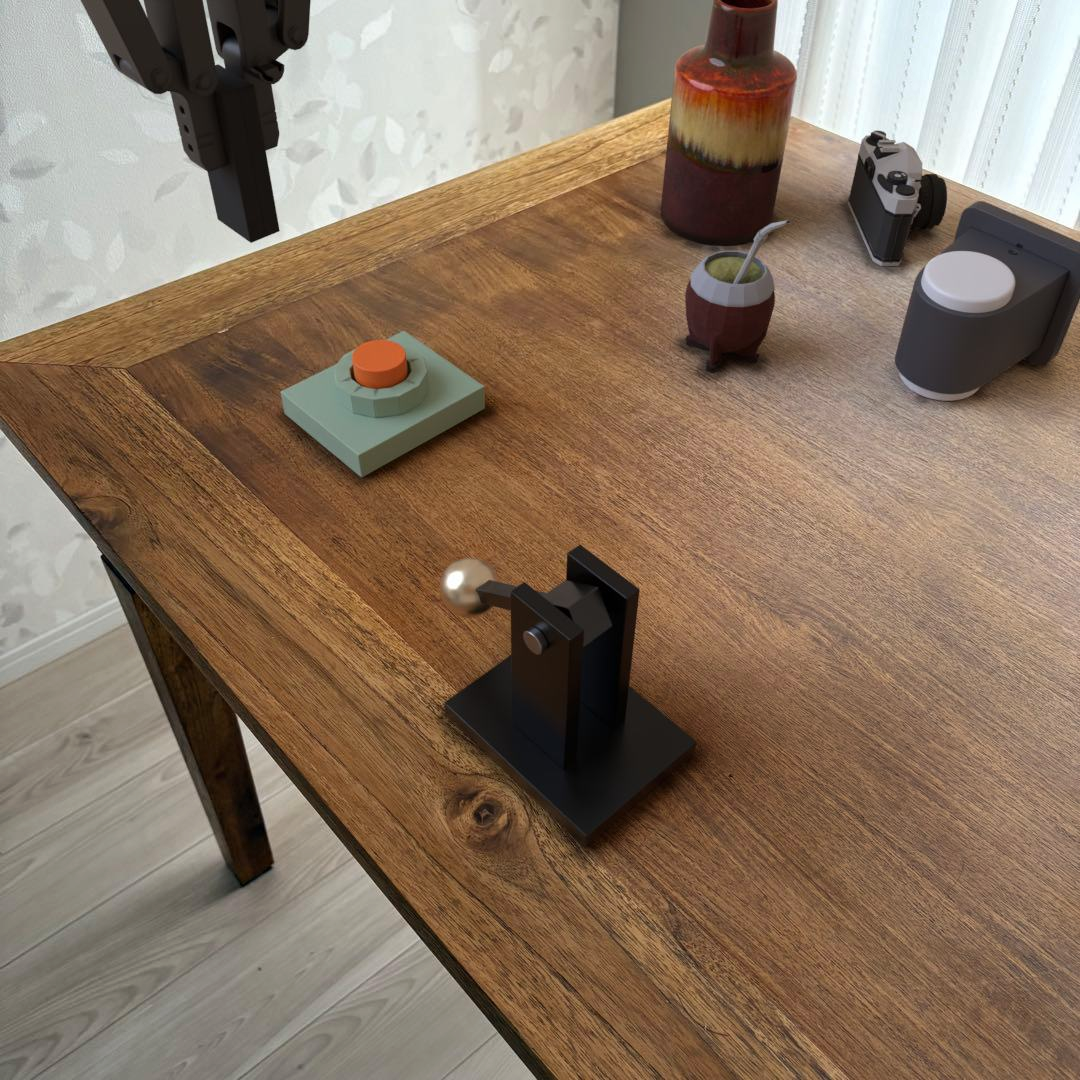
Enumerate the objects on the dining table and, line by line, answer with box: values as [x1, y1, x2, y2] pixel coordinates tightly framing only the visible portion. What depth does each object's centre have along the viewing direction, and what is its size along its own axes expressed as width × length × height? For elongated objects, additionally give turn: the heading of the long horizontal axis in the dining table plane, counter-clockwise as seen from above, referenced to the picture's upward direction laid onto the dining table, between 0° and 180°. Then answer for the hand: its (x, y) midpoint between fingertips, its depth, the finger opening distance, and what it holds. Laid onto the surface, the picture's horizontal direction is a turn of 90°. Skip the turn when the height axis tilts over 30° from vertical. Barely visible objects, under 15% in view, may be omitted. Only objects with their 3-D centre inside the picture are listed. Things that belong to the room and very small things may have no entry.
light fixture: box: [894, 200, 1080, 402], centre depth 88 cm, size 11×13×11 cm
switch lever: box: [439, 556, 613, 647], centre depth 62 cm, size 13×4×4 cm, turn 43°
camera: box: [847, 130, 948, 267], centre depth 104 cm, size 13×8×9 cm, turn 4°
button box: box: [280, 330, 486, 478], centre depth 85 cm, size 12×10×4 cm
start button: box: [352, 339, 407, 389], centre depth 83 cm, size 4×4×2 cm
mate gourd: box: [684, 219, 792, 373], centre depth 87 cm, size 8×8×15 cm
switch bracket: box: [443, 544, 698, 849], centre depth 61 cm, size 12×9×13 cm
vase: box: [660, 0, 798, 246], centre depth 101 cm, size 11×11×20 cm
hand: (248, 224), depth 49 cm, fingers closed
